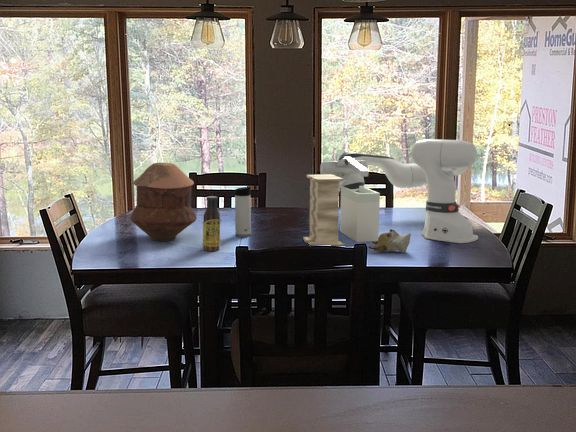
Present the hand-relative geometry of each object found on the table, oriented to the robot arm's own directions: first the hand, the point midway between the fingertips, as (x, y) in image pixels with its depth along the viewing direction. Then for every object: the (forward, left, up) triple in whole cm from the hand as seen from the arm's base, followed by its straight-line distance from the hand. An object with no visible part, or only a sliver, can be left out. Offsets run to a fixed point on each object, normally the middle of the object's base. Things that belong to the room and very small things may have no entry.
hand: (349, 159), depth 270 cm
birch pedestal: (-10, +26, -30) cm, 41 cm away
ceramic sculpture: (-35, +18, -30) cm, 49 cm away
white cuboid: (-11, +6, -30) cm, 32 cm away
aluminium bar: (-6, +4, -3) cm, 8 cm away
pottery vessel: (+40, +65, -30) cm, 82 cm away
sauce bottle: (+12, +63, -30) cm, 71 cm away
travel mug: (+22, +39, -30) cm, 54 cm away
